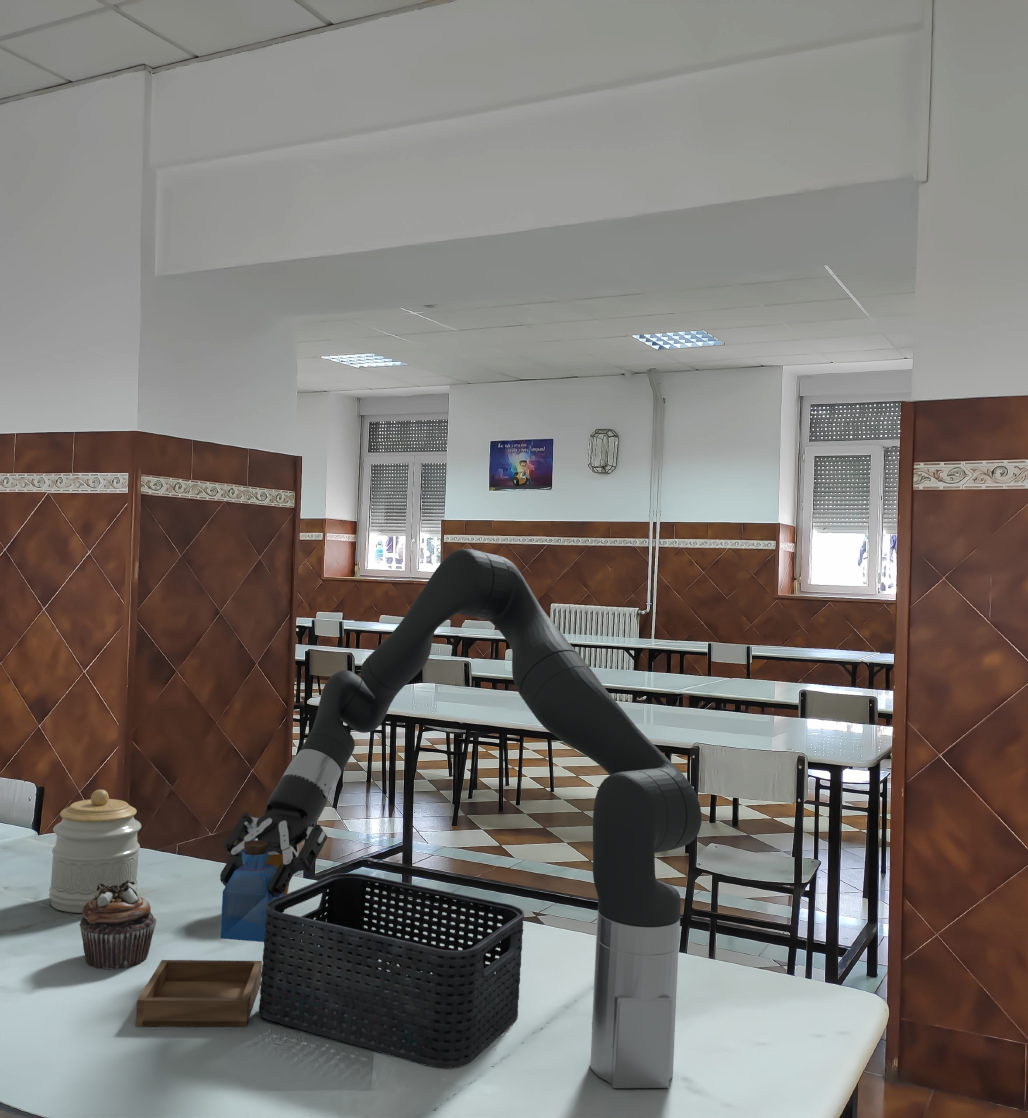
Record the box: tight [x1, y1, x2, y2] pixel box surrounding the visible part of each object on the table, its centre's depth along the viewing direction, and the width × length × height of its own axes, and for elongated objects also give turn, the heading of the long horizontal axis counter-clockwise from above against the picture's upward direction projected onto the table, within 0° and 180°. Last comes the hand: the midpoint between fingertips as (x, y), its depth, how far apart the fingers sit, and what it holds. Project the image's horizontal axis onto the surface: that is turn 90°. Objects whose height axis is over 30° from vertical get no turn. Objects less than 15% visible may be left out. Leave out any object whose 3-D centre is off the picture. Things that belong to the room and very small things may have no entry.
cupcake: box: [79, 880, 157, 970], centre depth 138 cm, size 10×10×10 cm
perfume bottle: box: [220, 840, 283, 943], centre depth 137 cm, size 6×6×12 cm
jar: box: [48, 789, 142, 914], centre depth 160 cm, size 13×13×18 cm
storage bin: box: [258, 872, 525, 1069], centre depth 124 cm, size 29×19×13 cm
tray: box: [134, 959, 263, 1028], centre depth 124 cm, size 13×13×3 cm
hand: (248, 889), depth 135 cm, fingers closed on perfume bottle, 7 cm apart
